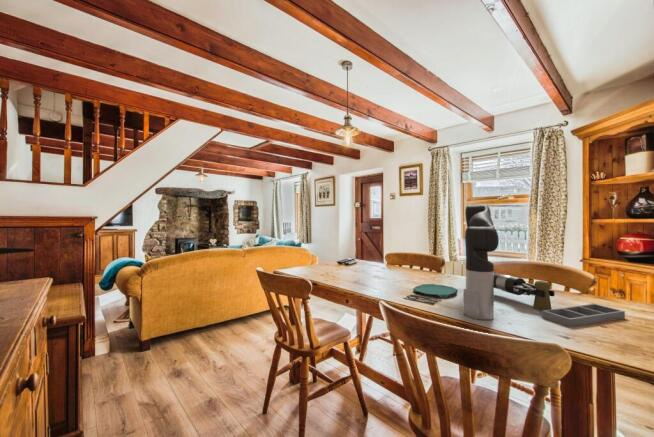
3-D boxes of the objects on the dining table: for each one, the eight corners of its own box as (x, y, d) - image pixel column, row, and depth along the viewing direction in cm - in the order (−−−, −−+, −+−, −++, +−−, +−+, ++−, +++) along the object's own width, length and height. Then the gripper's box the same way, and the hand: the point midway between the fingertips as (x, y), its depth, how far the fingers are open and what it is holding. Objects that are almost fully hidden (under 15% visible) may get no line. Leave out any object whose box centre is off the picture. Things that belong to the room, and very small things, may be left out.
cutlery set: (464, 292, 143) (464, 287, 143) (437, 307, 121) (437, 302, 121) (425, 286, 157) (425, 282, 156) (395, 299, 135) (395, 294, 135)
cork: (555, 311, 113) (555, 283, 113) (537, 310, 115) (537, 282, 114) (546, 306, 119) (546, 279, 119) (530, 306, 121) (530, 279, 120)
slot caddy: (570, 326, 98) (570, 319, 98) (542, 317, 107) (542, 310, 107) (624, 318, 106) (624, 311, 106) (593, 309, 115) (594, 303, 115)
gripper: (497, 277, 129) (535, 286, 112) (522, 274, 133) (562, 283, 116) (497, 294, 129) (535, 305, 112) (522, 291, 133) (562, 302, 116)
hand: (549, 294), depth 114 cm, fingers closed on cork, 4 cm apart
